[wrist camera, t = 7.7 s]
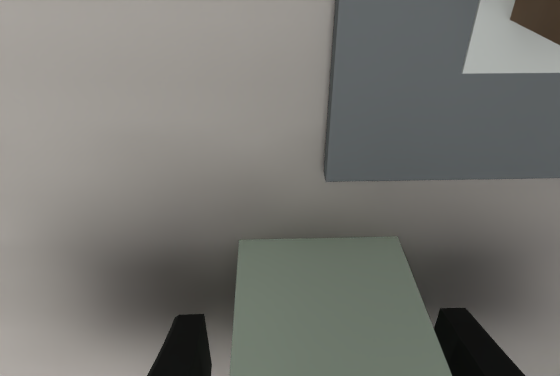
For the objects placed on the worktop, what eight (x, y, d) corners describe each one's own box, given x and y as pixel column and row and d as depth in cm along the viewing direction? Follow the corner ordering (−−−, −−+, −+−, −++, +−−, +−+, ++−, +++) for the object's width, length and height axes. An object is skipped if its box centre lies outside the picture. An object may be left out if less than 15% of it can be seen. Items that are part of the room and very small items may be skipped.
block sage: (377, 335, 13) (429, 536, 9) (246, 338, 13) (238, 544, 9) (397, 235, 11) (477, 442, 7) (239, 238, 11) (224, 451, 7)
